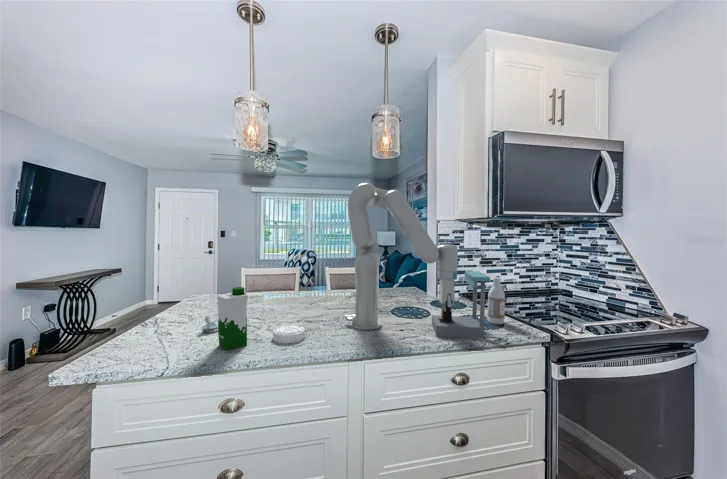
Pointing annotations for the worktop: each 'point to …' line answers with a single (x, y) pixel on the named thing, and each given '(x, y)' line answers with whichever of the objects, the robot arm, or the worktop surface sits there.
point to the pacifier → (210, 325)
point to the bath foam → (496, 303)
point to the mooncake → (288, 334)
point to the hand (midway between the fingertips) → (446, 318)
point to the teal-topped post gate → (472, 279)
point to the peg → (442, 314)
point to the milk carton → (232, 319)
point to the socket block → (458, 327)
